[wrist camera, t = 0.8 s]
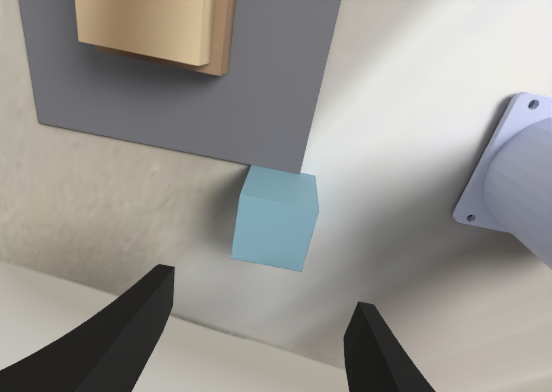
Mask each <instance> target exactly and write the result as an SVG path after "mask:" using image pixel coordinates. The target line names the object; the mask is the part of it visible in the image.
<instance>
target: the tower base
mask: <svg viewBox="0 0 552 392" xmlns="http://www.w3.org/2000/svg"><path fill="white" fill-rule="evenodd" d="M235 8H236V0H216V7H215V19H214V30H213V42H212V54H211V63H208V64H204V65H200V66H196V65H192V64H187V63H182V62H177V61H172V60H167V59H162V58H158V57H153V56H148V55H143V54H138V53H133V52H128V51H124V50H119V49H114V48H109V47H104V46H99V45H95V47H96V51H101V52H105V53H110V54H115V55H120V56H125V57H130V58H135V59H139V60H144V61H149V62H154V63H159V64H164V65H169V66H174V67H178V68H183V69H188V70H193V71H198V72H203V73H208V74H213V75H217V76H221V75H224V74H226V73H228V72H229V63H230V54H231V45H232V36H233V26H234V17H235Z"/></svg>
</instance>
